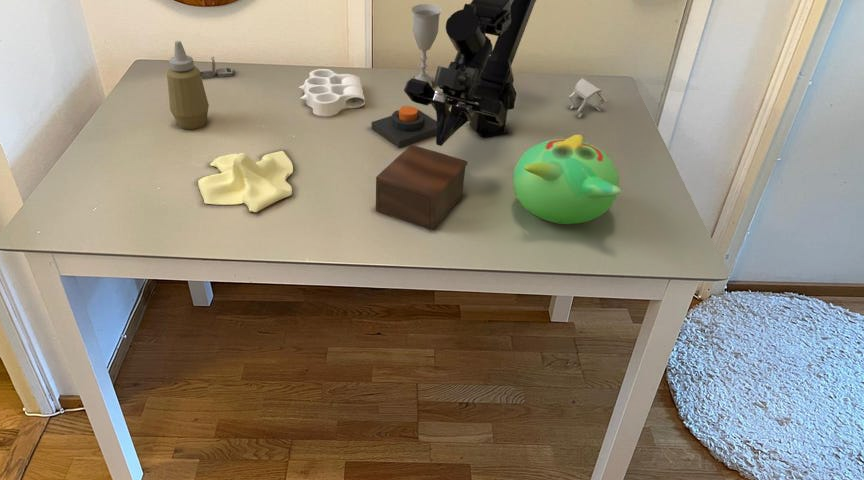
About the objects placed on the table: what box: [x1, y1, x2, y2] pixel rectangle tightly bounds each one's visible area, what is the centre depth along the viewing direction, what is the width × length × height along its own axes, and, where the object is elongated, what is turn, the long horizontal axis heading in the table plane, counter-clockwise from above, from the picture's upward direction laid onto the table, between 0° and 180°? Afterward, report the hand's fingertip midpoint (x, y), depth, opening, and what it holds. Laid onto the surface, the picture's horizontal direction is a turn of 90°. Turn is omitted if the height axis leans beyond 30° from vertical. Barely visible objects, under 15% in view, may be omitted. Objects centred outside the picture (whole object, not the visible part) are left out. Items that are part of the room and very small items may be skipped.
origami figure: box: [568, 77, 608, 118], centre depth 156 cm, size 12×8×5 cm
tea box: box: [375, 167, 466, 231], centre depth 124 cm, size 13×12×6 cm
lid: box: [375, 144, 468, 199], centre depth 122 cm, size 13×12×1 cm
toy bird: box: [512, 133, 623, 225], centre depth 119 cm, size 18×17×15 cm
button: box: [398, 105, 419, 121], centre depth 145 cm, size 4×4×2 cm
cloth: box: [197, 150, 294, 213], centre depth 129 cm, size 22×19×6 cm
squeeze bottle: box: [166, 40, 210, 130], centre depth 142 cm, size 8×8×18 cm
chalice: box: [411, 3, 443, 88], centre depth 159 cm, size 7×7×18 cm
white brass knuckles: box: [298, 68, 366, 118], centre depth 157 cm, size 3×18×15 cm
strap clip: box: [200, 56, 234, 79], centre depth 165 cm, size 8×3×4 cm, turn 104°
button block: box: [371, 107, 437, 149], centre depth 146 cm, size 12×10×4 cm
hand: (438, 145), depth 125 cm, fingers closed
